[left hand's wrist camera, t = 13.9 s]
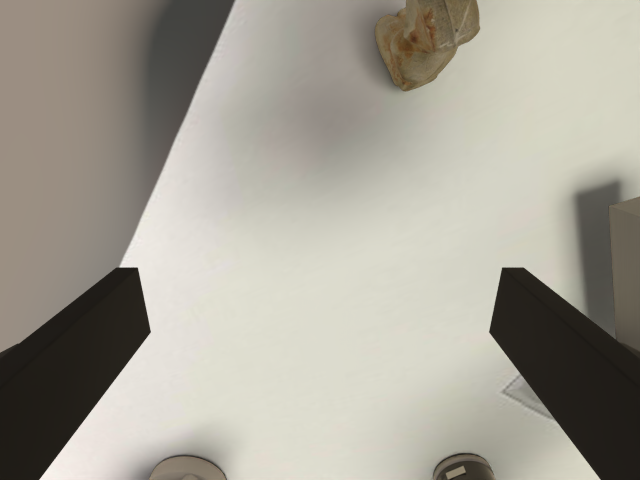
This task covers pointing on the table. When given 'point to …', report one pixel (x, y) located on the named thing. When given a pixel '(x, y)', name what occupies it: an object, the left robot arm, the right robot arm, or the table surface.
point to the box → (626, 269)
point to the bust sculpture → (186, 470)
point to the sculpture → (425, 38)
